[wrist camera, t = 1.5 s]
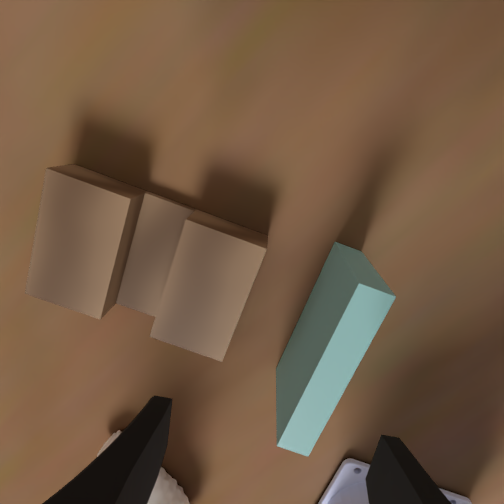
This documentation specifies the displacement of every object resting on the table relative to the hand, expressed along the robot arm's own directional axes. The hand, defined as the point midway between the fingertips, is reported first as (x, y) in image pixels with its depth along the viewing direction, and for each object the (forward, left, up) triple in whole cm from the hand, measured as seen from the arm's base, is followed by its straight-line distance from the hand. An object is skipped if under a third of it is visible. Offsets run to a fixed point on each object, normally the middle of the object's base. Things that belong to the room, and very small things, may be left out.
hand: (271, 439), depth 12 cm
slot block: (+7, -1, -10) cm, 12 cm away
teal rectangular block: (-3, -1, -10) cm, 10 cm away
